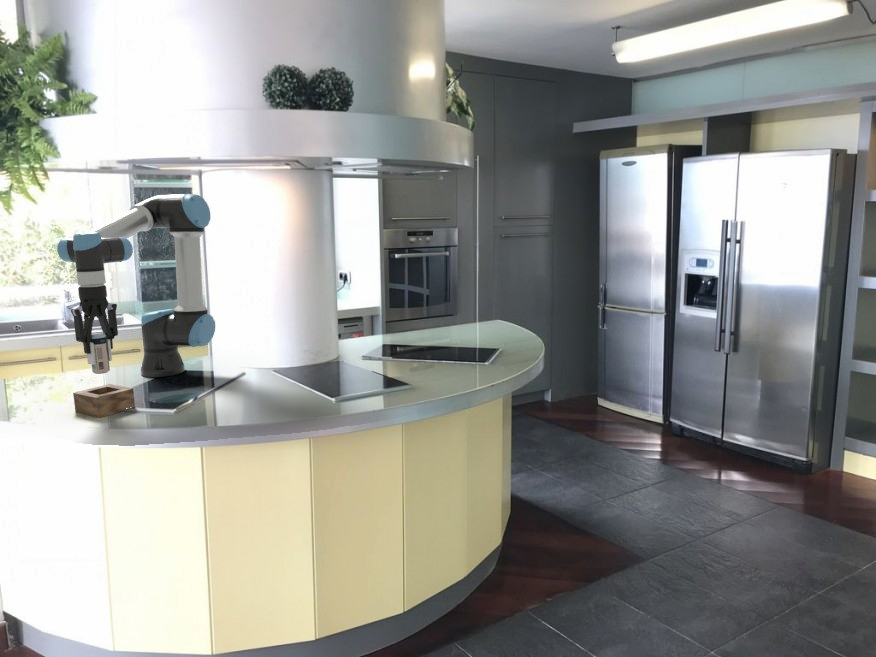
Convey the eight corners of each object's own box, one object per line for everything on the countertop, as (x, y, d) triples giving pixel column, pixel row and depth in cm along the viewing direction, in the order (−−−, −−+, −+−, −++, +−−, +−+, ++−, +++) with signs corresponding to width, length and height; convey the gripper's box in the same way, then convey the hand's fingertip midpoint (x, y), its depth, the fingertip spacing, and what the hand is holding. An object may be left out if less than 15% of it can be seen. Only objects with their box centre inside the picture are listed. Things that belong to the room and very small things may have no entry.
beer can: (113, 371, 219) (109, 332, 217) (102, 374, 214) (98, 335, 212) (100, 370, 220) (96, 331, 218) (89, 374, 216) (84, 334, 214)
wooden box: (111, 402, 228) (109, 383, 227) (135, 407, 221) (133, 388, 220) (75, 412, 218) (73, 392, 217) (99, 417, 211) (97, 398, 210)
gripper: (111, 281, 222) (118, 355, 226) (55, 288, 207) (64, 366, 211) (126, 282, 218) (133, 357, 222) (70, 289, 203) (79, 369, 207)
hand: (100, 361), depth 217 cm, fingers closed on beer can, 5 cm apart
